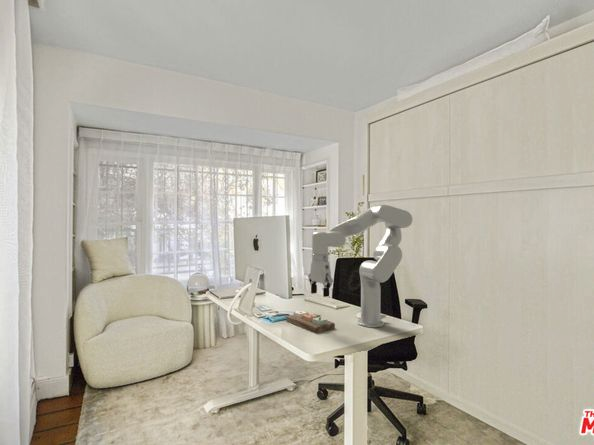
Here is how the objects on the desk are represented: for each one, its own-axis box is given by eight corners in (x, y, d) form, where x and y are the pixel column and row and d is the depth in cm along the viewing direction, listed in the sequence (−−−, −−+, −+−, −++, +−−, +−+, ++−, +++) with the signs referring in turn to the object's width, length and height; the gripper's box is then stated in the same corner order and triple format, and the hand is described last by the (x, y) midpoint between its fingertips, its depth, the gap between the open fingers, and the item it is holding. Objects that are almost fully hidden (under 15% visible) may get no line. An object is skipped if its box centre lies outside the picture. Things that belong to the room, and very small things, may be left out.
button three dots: (320, 323, 159) (320, 316, 159) (327, 325, 155) (327, 319, 155) (312, 325, 156) (312, 318, 156) (319, 327, 152) (319, 320, 152)
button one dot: (301, 316, 171) (301, 310, 171) (307, 318, 167) (307, 312, 167) (293, 317, 168) (293, 311, 168) (299, 320, 164) (299, 313, 164)
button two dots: (310, 319, 165) (310, 313, 165) (316, 322, 161) (317, 315, 161) (302, 321, 162) (302, 314, 162) (308, 323, 158) (309, 317, 158)
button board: (305, 317, 175) (305, 312, 175) (334, 328, 156) (334, 323, 156) (286, 321, 168) (286, 316, 168) (315, 333, 149) (315, 327, 149)
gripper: (338, 259, 151) (338, 297, 151) (314, 256, 165) (314, 291, 165) (326, 259, 147) (326, 299, 147) (302, 257, 161) (302, 292, 161)
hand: (320, 294), depth 156 cm, fingers open, 8 cm apart
